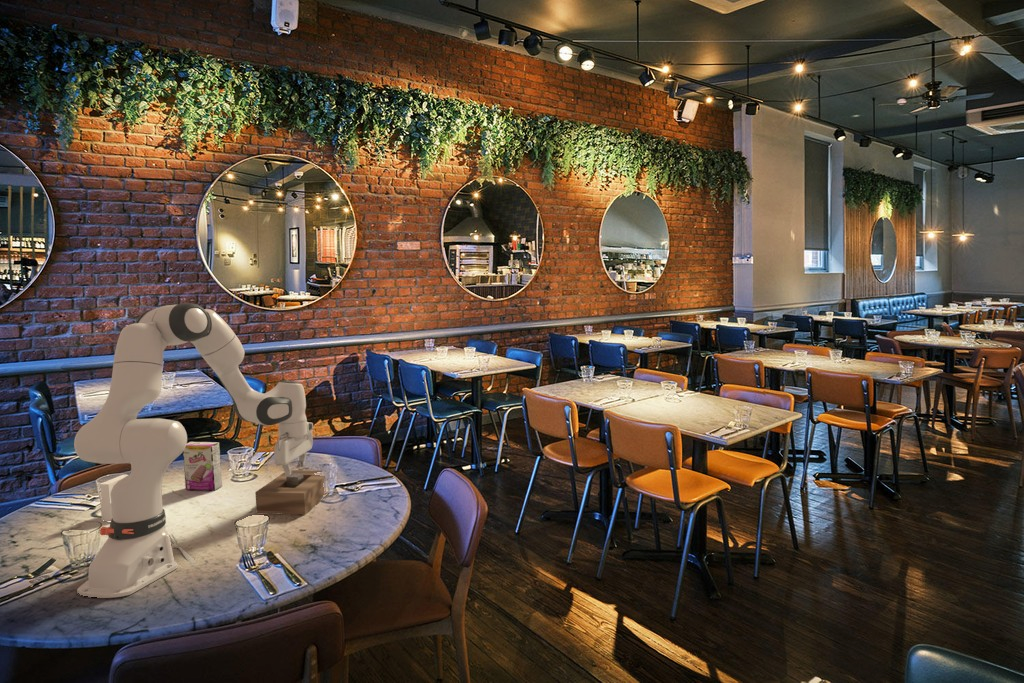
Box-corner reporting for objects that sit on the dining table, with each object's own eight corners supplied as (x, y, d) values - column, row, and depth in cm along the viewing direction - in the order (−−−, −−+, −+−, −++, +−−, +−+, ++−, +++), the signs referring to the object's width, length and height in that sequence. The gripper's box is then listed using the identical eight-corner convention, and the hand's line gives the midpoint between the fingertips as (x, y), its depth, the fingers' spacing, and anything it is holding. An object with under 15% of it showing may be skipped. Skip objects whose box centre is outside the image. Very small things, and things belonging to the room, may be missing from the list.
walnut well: (305, 514, 194) (304, 493, 193) (256, 513, 196) (255, 492, 195) (332, 490, 216) (331, 470, 215) (288, 489, 217) (287, 469, 217)
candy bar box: (184, 490, 218) (181, 445, 216) (193, 485, 223) (190, 441, 221) (215, 491, 217) (211, 445, 215) (223, 486, 222) (219, 441, 220)
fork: (192, 570, 159) (191, 563, 159) (161, 542, 176) (161, 536, 176) (205, 566, 162) (204, 559, 161) (173, 539, 178) (173, 533, 178)
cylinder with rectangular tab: (119, 522, 190) (116, 485, 189) (94, 521, 192) (91, 483, 191) (142, 511, 199) (139, 475, 198) (118, 510, 201) (115, 474, 199)
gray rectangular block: (299, 500, 203) (297, 477, 202) (287, 500, 204) (286, 477, 203) (304, 496, 207) (303, 473, 206) (293, 496, 208) (291, 473, 207)
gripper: (287, 437, 192) (289, 480, 194) (315, 422, 212) (317, 461, 214) (267, 437, 193) (270, 480, 194) (297, 422, 213) (299, 461, 214)
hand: (295, 470), depth 204 cm, fingers open, 8 cm apart
